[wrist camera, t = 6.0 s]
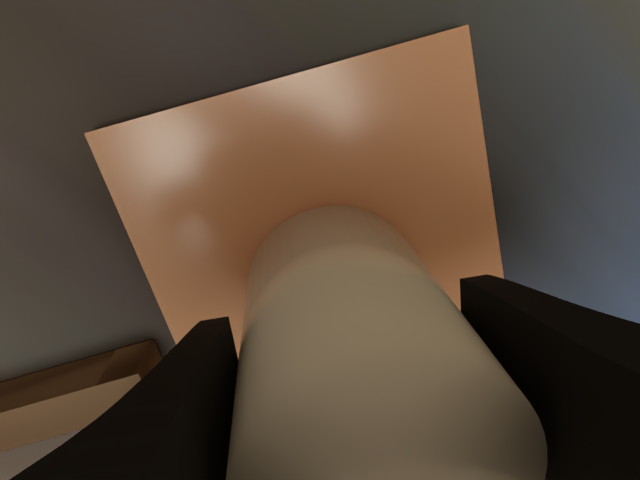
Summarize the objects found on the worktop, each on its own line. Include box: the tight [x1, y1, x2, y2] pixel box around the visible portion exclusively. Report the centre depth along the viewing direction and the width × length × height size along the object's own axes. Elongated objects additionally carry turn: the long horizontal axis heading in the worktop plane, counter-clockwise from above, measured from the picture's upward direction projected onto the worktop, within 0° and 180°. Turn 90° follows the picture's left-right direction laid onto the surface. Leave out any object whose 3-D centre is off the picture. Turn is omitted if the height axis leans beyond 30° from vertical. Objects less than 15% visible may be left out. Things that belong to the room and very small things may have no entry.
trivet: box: [84, 25, 504, 360], centre depth 14 cm, size 10×10×1 cm
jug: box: [226, 205, 547, 480], centre depth 11 cm, size 8×5×7 cm, turn 179°
